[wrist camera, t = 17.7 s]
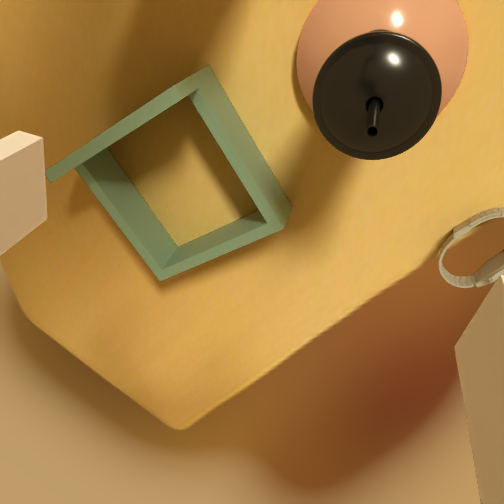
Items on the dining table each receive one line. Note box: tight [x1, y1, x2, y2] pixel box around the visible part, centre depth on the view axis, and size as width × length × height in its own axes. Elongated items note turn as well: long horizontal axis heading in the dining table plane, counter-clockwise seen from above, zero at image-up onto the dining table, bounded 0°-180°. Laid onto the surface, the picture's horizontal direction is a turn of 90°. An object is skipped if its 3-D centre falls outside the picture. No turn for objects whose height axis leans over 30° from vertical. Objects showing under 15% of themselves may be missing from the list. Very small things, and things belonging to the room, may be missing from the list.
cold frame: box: [45, 65, 292, 281], centre depth 48 cm, size 16×16×9 cm
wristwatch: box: [439, 208, 504, 288], centre depth 45 cm, size 9×6×5 cm
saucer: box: [296, 0, 468, 115], centre depth 41 cm, size 14×14×1 cm
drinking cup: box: [312, 29, 442, 160], centre depth 32 cm, size 8×8×20 cm
